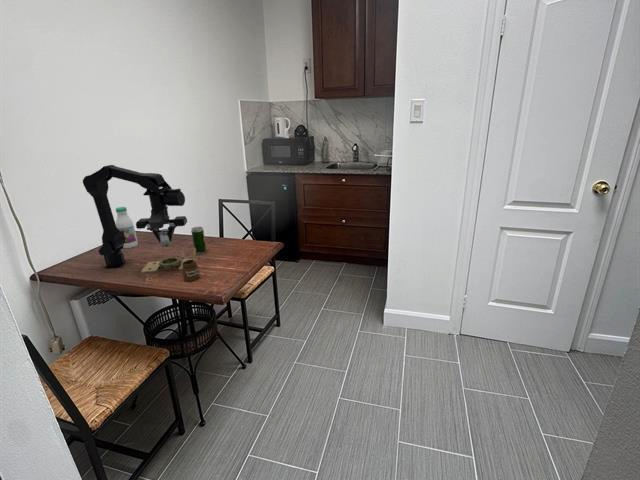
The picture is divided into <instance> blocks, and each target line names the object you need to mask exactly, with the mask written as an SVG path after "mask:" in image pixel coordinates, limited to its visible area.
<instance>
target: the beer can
mask: <svg viewBox="0 0 640 480" xmlns="http://www.w3.org/2000/svg"><path fill="white" fill-rule="evenodd" d="M205 237H206V236H205V231H204V227H203V226H194V227H192V228H191V238H192V243H193V249H194V248H196V255H202V254H203V255H204V254H206V253H207V245H206V238H205Z"/></svg>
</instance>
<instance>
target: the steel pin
mask: <svg viewBox="0 0 640 480" xmlns="http://www.w3.org/2000/svg"><path fill="white" fill-rule="evenodd" d="M158 233H159V237H160V242H159V243H160V246H161V247H162V248H167V247H171V246H172V242H170V238H169V230H168V228H164V229H163V228H161V229H159V231H158Z"/></svg>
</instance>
